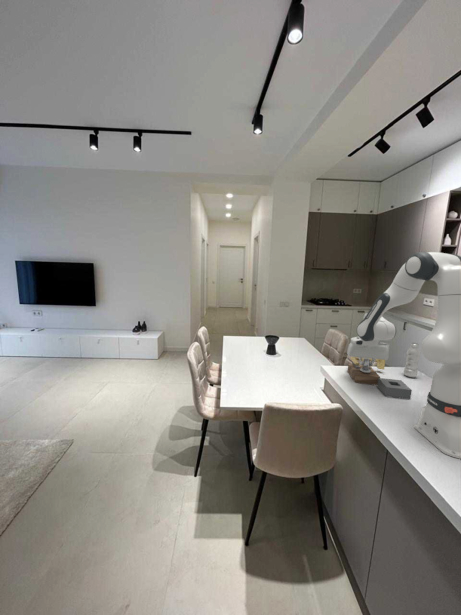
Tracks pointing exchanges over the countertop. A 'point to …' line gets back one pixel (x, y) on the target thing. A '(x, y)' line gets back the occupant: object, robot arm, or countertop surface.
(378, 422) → the countertop surface
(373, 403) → the countertop surface
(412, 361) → the plastic bottle
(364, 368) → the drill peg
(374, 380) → the socket block
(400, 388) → the grey square holed piece
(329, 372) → the countertop surface
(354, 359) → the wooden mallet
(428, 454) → the countertop surface
